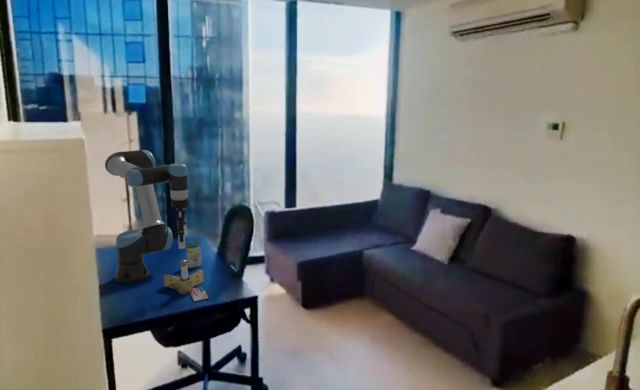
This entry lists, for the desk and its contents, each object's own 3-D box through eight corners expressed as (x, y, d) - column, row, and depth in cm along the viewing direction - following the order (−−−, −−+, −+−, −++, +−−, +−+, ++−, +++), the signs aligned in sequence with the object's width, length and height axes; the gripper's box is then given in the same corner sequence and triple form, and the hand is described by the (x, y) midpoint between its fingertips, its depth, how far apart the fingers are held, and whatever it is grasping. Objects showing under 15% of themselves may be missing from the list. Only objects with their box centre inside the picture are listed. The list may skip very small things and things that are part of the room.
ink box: (188, 268, 238) (187, 244, 235) (186, 266, 242) (185, 242, 239) (202, 266, 242) (200, 242, 239) (199, 263, 245) (198, 240, 242)
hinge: (164, 286, 217) (163, 274, 215) (195, 276, 228) (194, 265, 227) (180, 296, 206) (179, 284, 205) (211, 285, 218) (210, 274, 216)
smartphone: (193, 301, 200) (187, 288, 213) (193, 303, 200) (187, 290, 214) (210, 298, 203) (203, 285, 217) (210, 300, 204) (203, 287, 217)
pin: (181, 290, 212) (179, 260, 209) (186, 288, 214) (185, 259, 211) (184, 292, 210) (182, 262, 207) (190, 290, 212) (188, 260, 209)
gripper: (188, 204, 191) (190, 252, 196) (188, 191, 215) (191, 234, 220) (169, 205, 189) (172, 253, 194) (172, 192, 213) (174, 235, 218)
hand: (182, 243), depth 207 cm, fingers open, 13 cm apart
